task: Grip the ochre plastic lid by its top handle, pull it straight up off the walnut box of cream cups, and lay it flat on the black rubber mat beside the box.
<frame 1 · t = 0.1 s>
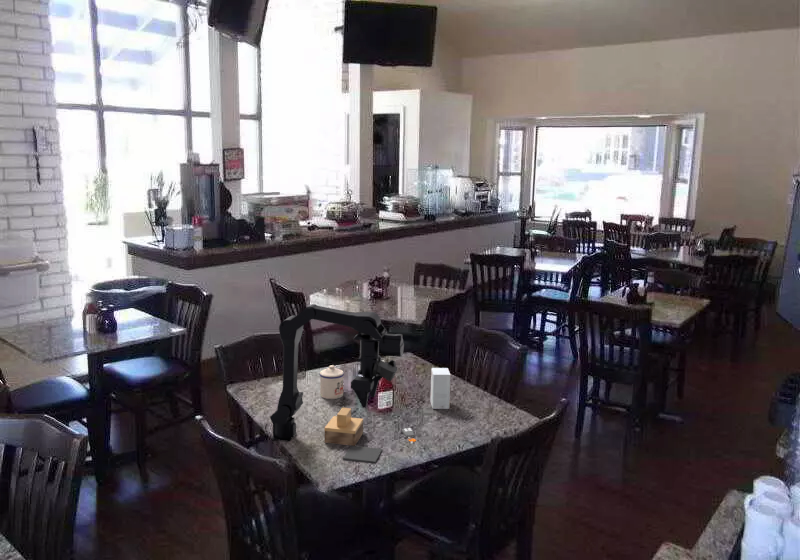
hand: (368, 402, 209), 14 cm above the table, tool pointing down, fingers open, 9 cm apart
teacup with lid: (333, 394, 256), on the table
lid: (344, 428, 217), point 3 cm above the table, touching walnut box
small box: (439, 405, 247), on the table
rubber mat: (362, 454, 205), on the table
walnut box: (344, 437, 217), on the table
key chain: (410, 440, 218), on the table
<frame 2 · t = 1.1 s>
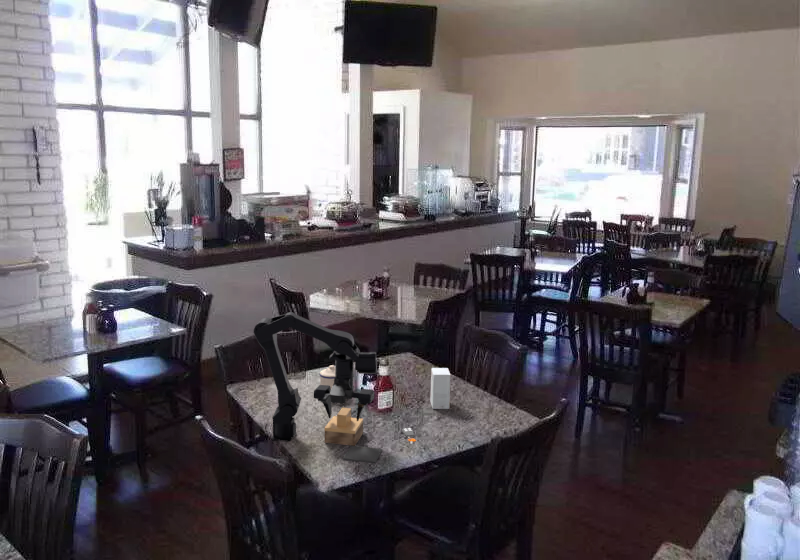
hand: (343, 419, 216), 6 cm above the table, tool pointing down, fingers open, 9 cm apart
nothing on the table moved.
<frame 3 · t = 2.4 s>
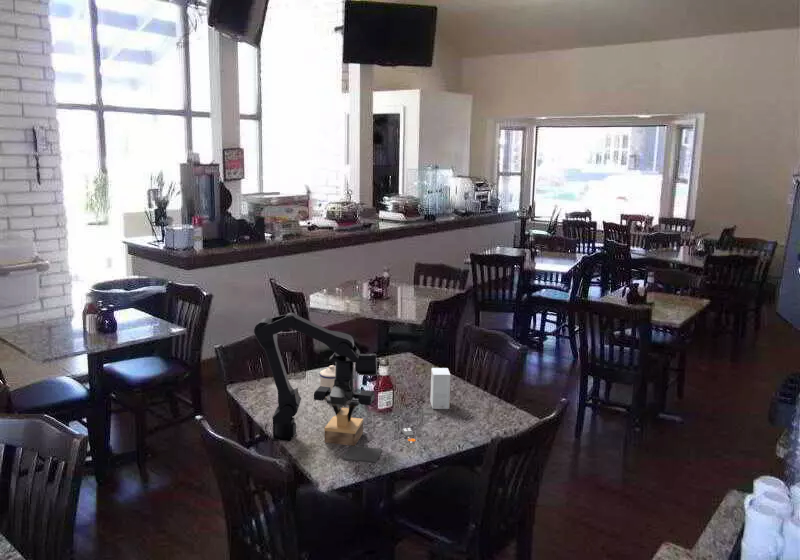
hand: (344, 420, 216), 6 cm above the table, tool pointing down, fingers closed on lid, 3 cm apart
lid: (344, 428, 217), point 3 cm above the table, touching gripper, walnut box
everything else where it was.
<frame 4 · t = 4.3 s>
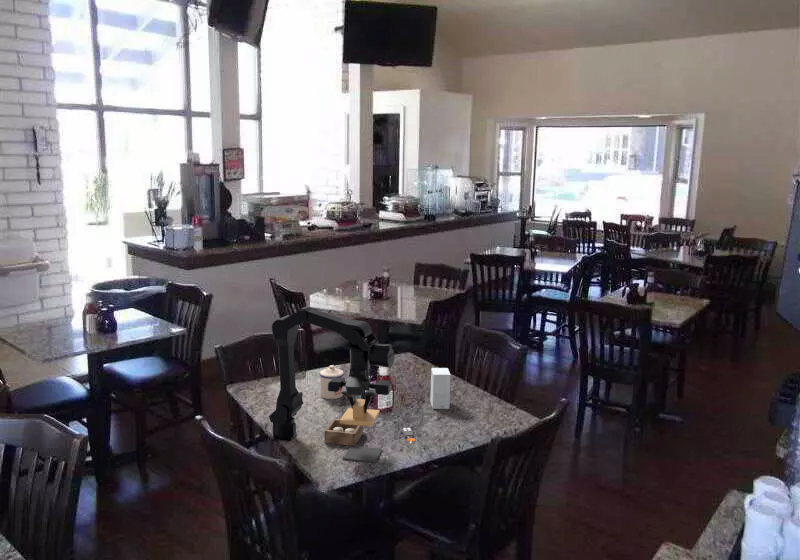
hand: (360, 412, 206), 12 cm above the table, tool pointing down, fingers closed on lid, 3 cm apart
lid: (360, 420, 206), point 10 cm above the table, touching gripper
everything else where it was.
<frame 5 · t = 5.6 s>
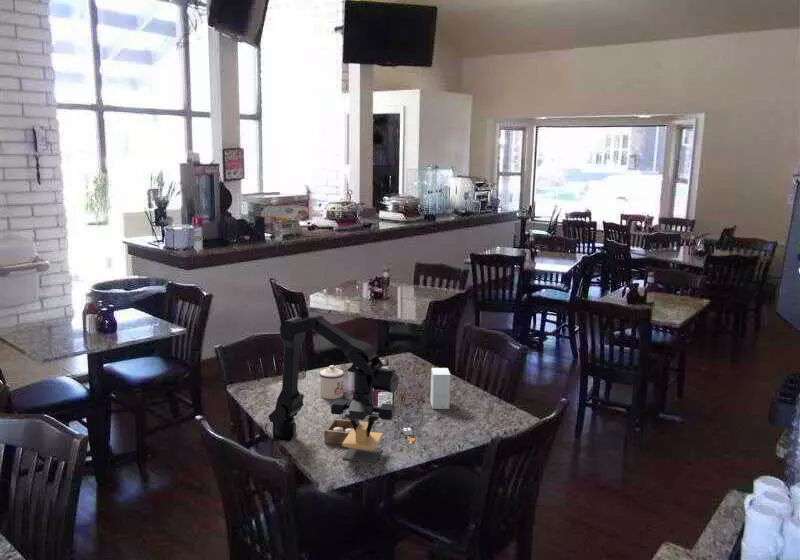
hand: (362, 435, 204), 6 cm above the table, tool pointing down, fingers closed on lid, 3 cm apart
lid: (362, 443, 205), point 4 cm above the table, touching gripper
everything else where it was.
when the fingers open (5 cm above the table, at t = 6.6 s): lid drops 1 cm, resting on rubber mat.
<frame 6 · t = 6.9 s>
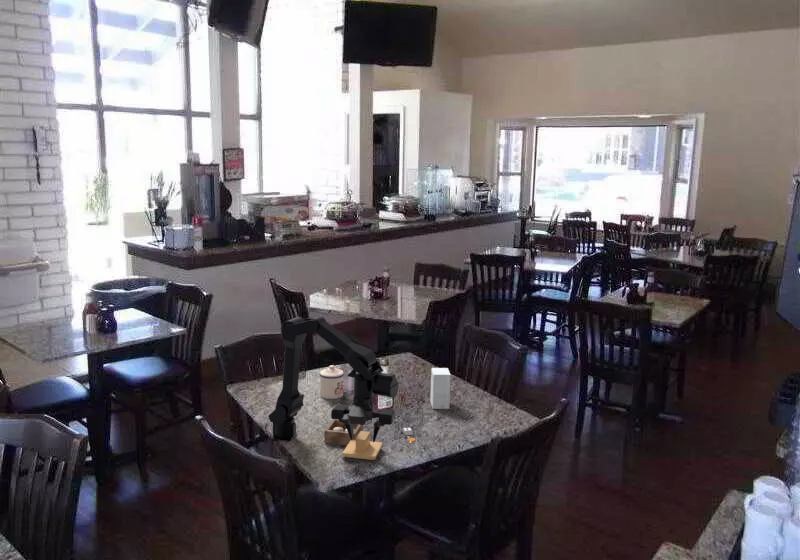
hand: (363, 440, 204), 5 cm above the table, tool pointing down, fingers open, 7 cm apart
lid: (362, 453, 205), resting on rubber mat
everything else where it was.
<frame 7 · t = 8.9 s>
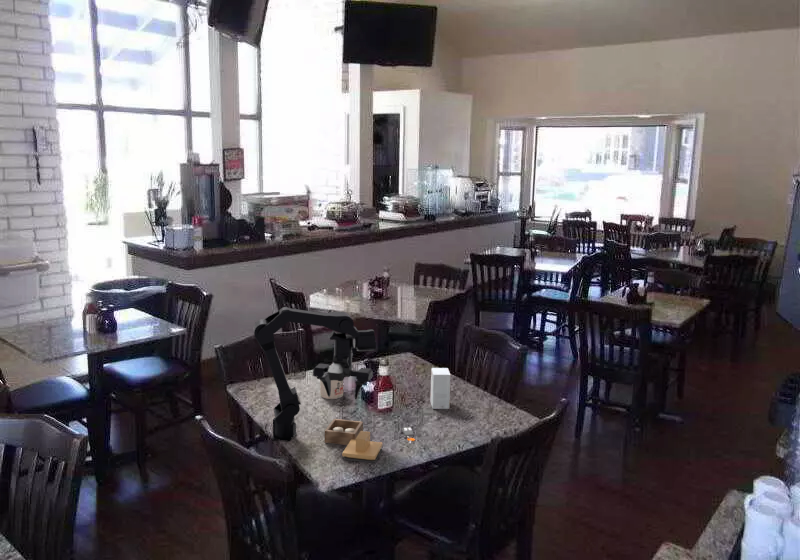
hand: (342, 397, 219), 12 cm above the table, tool pointing down, fingers open, 9 cm apart
nothing on the table moved.
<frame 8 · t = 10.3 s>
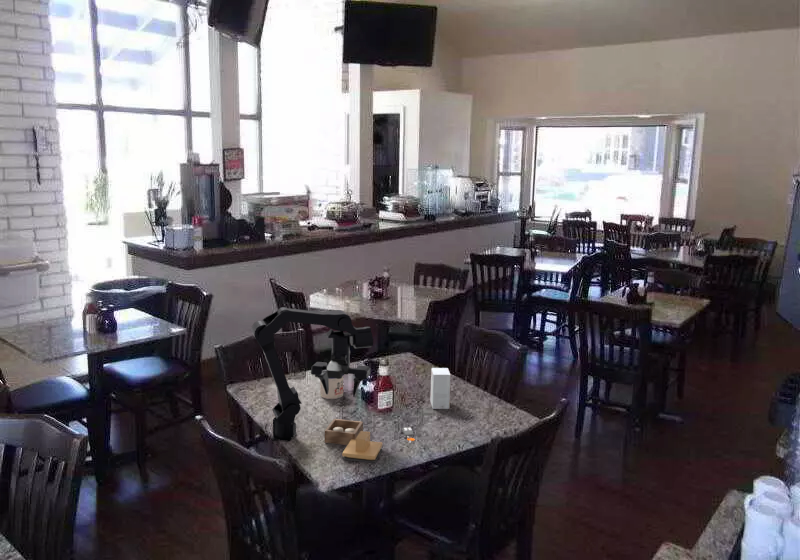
hand: (340, 395, 221), 12 cm above the table, tool pointing down, fingers open, 9 cm apart
nothing on the table moved.
at the end: lid 0.1 cm off-centre on the rubber mat, point 0.5 cm above the rubber mat's base; lid tilted 0°; the gripper is holding nothing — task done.
